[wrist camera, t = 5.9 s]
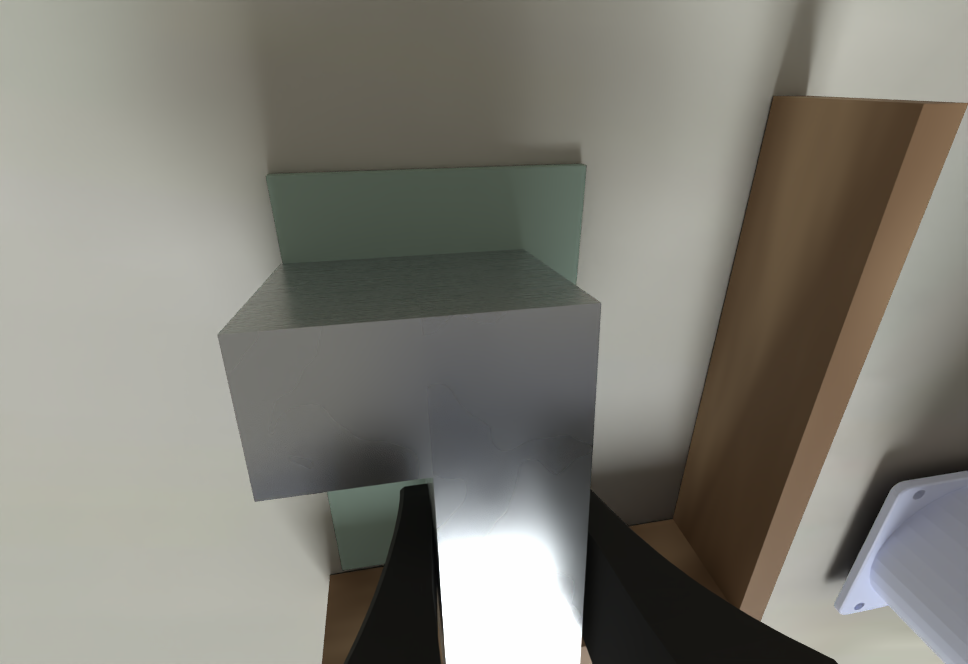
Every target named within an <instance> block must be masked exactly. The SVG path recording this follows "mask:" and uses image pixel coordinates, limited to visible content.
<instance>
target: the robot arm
mask: <svg viewBox="0 0 968 664" xmlns="http://www.w3.org/2000/svg"><path fill="white" fill-rule="evenodd" d="M884 606H890V607H891V608H892V609H893V610H894V611H895V612H896V614H897V615H898V616H899V617H900V618H901V619H902V620H903V621H904V622H905V623H906V624H907V625H908V626H909V627H910V628H911V629H912V630H913V631H914V632H915V633H916V634H917V635H918V636H919V637H920V638H921V639H922V640H923V641H924V642H925V643H926V644H927V646H928V647H929V648H930V649H931V650H932V651H933V652H934V653H935V654H936V655H937V656H938V657H939V658H940V659H941V660H942V661H943V662H944V663H945V664H968V471H961V472H955V473H949V474H943V475H937V476H931V477H925V478H919V479H913V480H907V481H902V482H899V483H897V484H896V485H895V486H893V487H892V489H891V490H890V492H889V494H888V496H887V498H886V500H885V502H884V504H883V506H882V508H881V510H880V512H879V514H878V516H877V518H876V520H875V522H874V524H873V526H872V528H871V530H870V532H869V534H868V536H867V538H866V540H865V542H864V544H863V546H862V548H861V550H860V552H859V554H858V556H857V558H856V560H855V562H854V564H853V566H852V568H851V570H850V572H849V574H848V576H847V578H846V580H845V582H844V584H843V586H842V588H841V591H840V593H839V595H838V597H837V599H836V601H835V603H834V607H835V608H836V609H837V610H838V612H839V613H840V614H843V615H846V614H851V613H856V612H861V611H865V610H870V609H875V608H880V607H884ZM582 637H583V640H584V642H585V645H586V648H587V650H588V653H589V656H590V658H591V661H592V664H838V663H837V662H836V661H835V660H834V659H832V658H830V657H828V656H826V655H824V654H822V653H820V652H818V651H816V650H814V649H812V648H810V647H808V646H806V645H804V644H802V643H800V642H798V641H796V640H794V639H791V638H789V637H787V636H785V635H784V634H782V633H780V632H778V631H776V630H774V629H773V628H771V627H769V626H767V625H766V624H764V623H762V622H760V621H759V620H757V619H755V618H753V617H751V616H750V615H748V614H746V613H745V612H743V611H741V610H740V609H738V608H736V607H735V606H733V605H732V604H730V603H729V602H727V601H726V600H724V599H722V598H721V597H719V596H718V595H716V594H715V593H713V592H712V591H710V590H708V589H707V588H705V587H704V586H702V585H701V584H700V583H698V582H697V581H695V580H694V579H692V578H691V577H690V576H688V575H687V574H686V573H684V572H683V571H682V570H680V569H679V568H678V567H676V566H675V565H674V564H672V563H671V562H670V561H668V560H667V559H666V558H665V557H663V556H662V555H661V554H660V553H659V552H657V551H656V550H655V549H654V548H653V547H651V546H650V545H649V544H648V543H647V542H646V541H644V540H643V539H642V538H641V537H640V536H639V535H637V534H636V533H635V532H634V531H633V530H632V529H631V528H630V527H629V526H628V525H626V524H625V523H624V522H623V521H622V520H621V519H620V518H619V517H618V516H617V515H616V514H615V513H614V512H613V511H612V510H611V509H610V508H609V507H608V506H607V505H606V504H605V503H604V502H603V501H602V500H601V499H600V498H599V497H598V496H597V495H596V494H595V493H594V492H593V491H592V490H591V489H590V502H589V519H588V536H587V553H586V570H585V587H584V604H583V621H582ZM344 664H441V658H440V649H439V641H438V615H437V583H436V568H435V553H434V539H433V524H432V510H431V503H430V496H429V489H428V483H426V484H419V485H411V486H404V487H403V488H402V489H401V490H400V500H399V508H398V514H397V519H396V524H395V528H394V533H393V537H392V540H391V544H390V547H389V551H388V554H387V558H386V561H385V564H384V567H383V570H382V573H381V576H380V579H379V582H378V585H377V587H376V590H375V593H374V596H373V598H372V601H371V603H370V606H369V608H368V611H367V613H366V616H365V618H364V620H363V623H362V625H361V627H360V630H359V632H358V634H357V636H356V639H355V641H354V643H353V645H352V647H351V649H350V651H349V653H348V655H347V657H346V659H345V662H344Z"/></svg>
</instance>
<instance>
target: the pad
mask: <svg viewBox="0 0 968 664" xmlns="http://www.w3.org/2000/svg"><path fill="white" fill-rule="evenodd" d="M586 167H587V165H584V164H558V165H527V166H497V167H466V168H436V169H405V170H375V171H344V172H314V173H283V174H268V175H267V176H266V181H267V186H268V191H269V196H270V201H271V206H272V211H273V216H274V222H275V227H276V232H277V237H278V242H279V247H280V252H281V258H282V263H283V264H286V263H302V262H318V261H335V260H351V259H367V258H383V257H400V256H416V255H432V254H448V253H465V252H481V251H497V250H513V249H524V250H526V251H527V252H529V253H530V254H532V255H533V256H534V257H536V258H537V259H539V260H540V261H542V262H543V263H544V264H546V265H547V266H549V267H550V268H552V269H553V270H555V271H556V272H557V273H559V274H560V275H562V276H563V277H565V278H566V279H568V280H569V281H570V282H572V283H573V284H575V285H576V280H577V269H578V257H579V246H580V235H581V223H582V212H583V201H584V190H585V178H586ZM419 484H425V479H417V480H410V481H403V482H395V483H388V484H381V485H373V486H366V487H359V488H351V489H344V490H337V491H329V492H327V494H328V499H329V504H330V509H331V514H332V519H333V524H334V530H335V535H336V540H337V545H338V550H339V555H340V560H341V566H342V571H344V570H350V569H356V568H362V567H368V566H374V565H381V564H385V561H386V558H387V554H388V551H389V547H390V544H391V540H392V537H393V533H394V528H395V524H396V519H397V514H398V508H399V500H400V490H401V489H402V488H403V487H404V486H411V485H419Z"/></svg>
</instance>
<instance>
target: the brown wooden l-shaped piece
mask: <svg viewBox="0 0 968 664" xmlns="http://www.w3.org/2000/svg"><path fill="white" fill-rule="evenodd" d="M967 105H968V103H955V102H933V101H911V100H888V99H866V98H844V97H822V96H773V100H772V105H771V109H770V113H769V117H768V121H767V126H766V130H765V134H764V138H763V142H762V147H761V151H760V155H759V159H758V163H757V168H756V172H755V176H754V180H753V184H752V189H751V193H750V197H749V201H748V205H747V210H746V214H745V218H744V222H743V226H742V231H741V235H740V239H739V243H738V248H737V252H736V256H735V260H734V264H733V269H732V273H731V277H730V281H729V285H728V290H727V294H726V298H725V302H724V306H723V311H722V315H721V319H720V323H719V327H718V332H717V336H716V340H715V344H714V348H713V353H712V357H711V361H710V365H709V369H708V374H707V378H706V382H705V386H704V390H703V395H702V399H701V403H700V407H699V411H698V416H697V420H696V424H695V428H694V432H693V437H692V441H691V445H690V449H689V453H688V458H687V462H686V466H685V470H684V474H683V479H682V483H681V487H680V491H679V495H678V500H677V504H676V508H675V512H674V516H673V519H670V520H664V521H658V522H652V523H646V524H640V525H634V526H629V527H630V528H631V529H632V530H633V531H634V532H635V533H636V534H637V535H639V536H640V537H641V538H642V539H643V540H644V541H646V542H647V543H648V544H649V545H650V546H651V547H653V548H654V549H655V550H656V551H657V552H659V553H660V554H661V555H662V556H663V557H665V558H666V559H667V560H668V561H670V562H671V563H672V564H674V565H675V566H676V567H678V568H679V569H680V570H682V571H683V572H684V573H686V574H687V575H688V576H690V577H691V578H692V579H694V580H695V581H697V582H698V583H700V584H701V585H702V586H704V587H705V588H707V589H708V590H710V591H712V592H713V593H715V594H716V595H718V596H719V597H721V598H722V599H724V600H726V601H727V602H729V603H730V604H732V605H733V606H735V607H736V608H738V609H740V610H741V611H743V612H745V613H746V614H748V615H750V616H751V617H753V618H755V619H757V620H759V621H761V619H762V616H763V614H764V611H765V609H766V606H767V604H768V601H769V599H770V596H771V594H772V591H773V589H774V586H775V584H776V581H777V579H778V576H779V574H780V571H781V569H782V566H783V564H784V561H785V559H786V556H787V554H788V551H789V549H790V546H791V544H792V541H793V539H794V536H795V534H796V531H797V529H798V526H799V524H800V521H801V519H802V516H803V514H804V511H805V509H806V506H807V504H808V501H809V499H810V496H811V494H812V491H813V489H814V487H815V484H816V482H817V479H818V477H819V474H820V472H821V469H822V467H823V464H824V462H825V459H826V457H827V454H828V452H829V449H830V447H831V444H832V442H833V439H834V437H835V434H836V432H837V429H838V427H839V424H840V422H841V419H842V417H843V414H844V412H845V409H846V407H847V404H848V402H849V399H850V397H851V394H852V392H853V389H854V387H855V384H856V382H857V379H858V377H859V374H860V372H861V369H862V367H863V364H864V362H865V359H866V357H867V354H868V352H869V350H870V347H871V345H872V342H873V340H874V337H875V335H876V332H877V330H878V327H879V325H880V322H881V320H882V317H883V315H884V312H885V310H886V307H887V305H888V302H889V300H890V297H891V295H892V292H893V290H894V287H895V285H896V282H897V280H898V277H899V275H900V272H901V270H902V267H903V265H904V262H905V260H906V257H907V255H908V252H909V250H910V247H911V245H912V242H913V240H914V237H915V235H916V232H917V230H918V227H919V225H920V222H921V220H922V218H923V215H924V213H925V210H926V208H927V205H928V203H929V200H930V198H931V195H932V193H933V190H934V188H935V185H936V183H937V180H938V178H939V175H940V173H941V170H942V168H943V165H944V163H945V160H946V158H947V155H948V153H949V150H950V148H951V145H952V143H953V140H954V138H955V135H956V133H957V130H958V128H959V125H960V123H961V120H962V118H963V115H964V113H965V110H966V108H967ZM382 570H383V567H378V568H372V569H366V570H359V571H353V572H347V573H341V574H335V575H330V582H329V593H328V604H327V615H326V626H325V637H324V647H323V658H322V664H344V662H345V659H346V657H347V655H348V653H349V651H350V649H351V647H352V645H353V643H354V641H355V639H356V636H357V634H358V632H359V630H360V627H361V625H362V623H363V620H364V618H365V616H366V613H367V611H368V608H369V606H370V603H371V601H372V598H373V596H374V593H375V590H376V587H377V585H378V582H379V579H380V576H381V573H382ZM438 641H439V649H440V658H441V664H443V659H442V651H441V642H440V634H439V626H438ZM580 664H592V661H591V658H590V656H589V653H588V650H587V648H586V645H585V642H584V640H583V637H582V638H581V655H580Z"/></svg>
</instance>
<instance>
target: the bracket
mask: <svg viewBox="0 0 968 664" xmlns="http://www.w3.org/2000/svg"><path fill="white" fill-rule="evenodd" d="M600 316H601V302H599V301H598V300H596V299H595V298H593V297H592V296H591V295H589V294H588V293H586V292H585V291H583V290H582V289H580V288H579V287H578V286H576V285H575V284H573V283H572V282H570V281H569V280H568V279H566V278H565V277H563V276H562V275H560V274H559V273H557V272H556V271H555V270H553V269H552V268H550V267H549V266H547V265H546V264H544V263H543V262H542V261H540V260H539V259H537V258H536V257H534V256H533V255H532V254H530V253H529V252H527V251H526V250H524V249H513V250H497V251H481V252H465V253H448V254H432V255H416V256H400V257H383V258H367V259H351V260H335V261H318V262H302V263H286V264H280V266H279V267H278V268H277V269H276V270H275V271H274V272H273V273H272V274H271V276H270V277H269V278H268V279H267V280H266V281H265V282H264V283H263V285H262V286H261V287H260V288H259V289H258V290H257V291H256V292H255V293H254V295H253V296H252V297H251V298H250V299H249V300H248V301H247V302H246V303H245V305H244V306H243V307H242V308H241V309H240V310H239V311H238V312H237V313H236V315H235V316H234V317H233V318H232V319H231V320H230V321H229V322H228V323H227V325H226V326H225V327H224V328H223V329H222V330H221V331H220V332H219V333H218V339H219V344H220V348H221V353H222V357H223V362H224V366H225V370H226V375H227V379H228V384H229V388H230V393H231V397H232V402H233V406H234V411H235V415H236V420H237V424H238V429H239V433H240V438H241V442H242V447H243V451H244V456H245V460H246V465H247V469H248V474H249V478H250V483H251V487H252V491H253V496H254V500H255V502H256V501H264V500H271V499H278V498H286V497H293V496H300V495H307V494H315V493H322V492H329V491H337V490H344V489H351V488H359V487H366V486H373V485H381V484H388V483H395V482H403V481H410V480H417V479H425V484H426V483H428V489H429V496H430V503H431V510H432V524H433V539H434V553H435V568H436V583H437V615H438V626H439V634H440V642H441V651H442V659H443V664H580V655H581V638H582V621H583V604H584V587H585V570H586V553H587V536H588V519H589V502H590V485H591V468H592V452H593V435H594V418H595V401H596V384H597V367H598V350H599V333H600Z"/></svg>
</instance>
